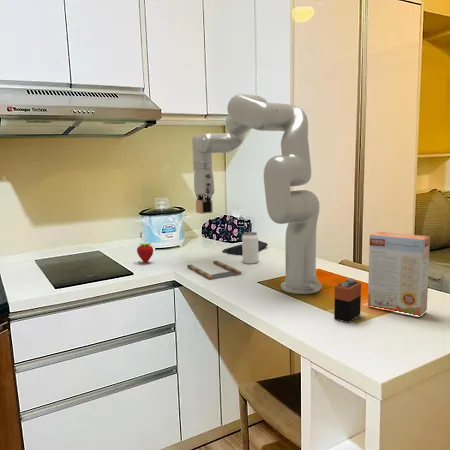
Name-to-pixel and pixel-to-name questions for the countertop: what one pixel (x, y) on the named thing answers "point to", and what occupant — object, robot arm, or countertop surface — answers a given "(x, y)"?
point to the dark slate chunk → (238, 249)
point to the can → (250, 247)
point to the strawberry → (145, 252)
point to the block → (200, 207)
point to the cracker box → (398, 272)
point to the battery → (347, 300)
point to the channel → (219, 275)
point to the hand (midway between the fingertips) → (204, 210)
